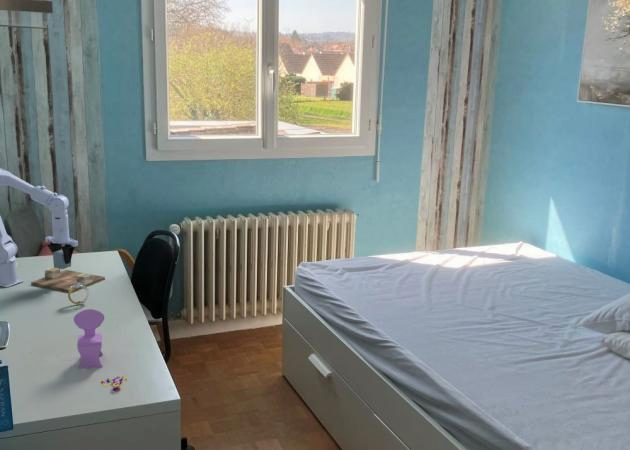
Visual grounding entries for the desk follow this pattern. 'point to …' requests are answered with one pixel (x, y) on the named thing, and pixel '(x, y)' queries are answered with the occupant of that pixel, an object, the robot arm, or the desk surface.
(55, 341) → the desk surface
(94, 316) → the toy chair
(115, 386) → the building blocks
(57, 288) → the wooden board
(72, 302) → the ring
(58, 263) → the slate block
